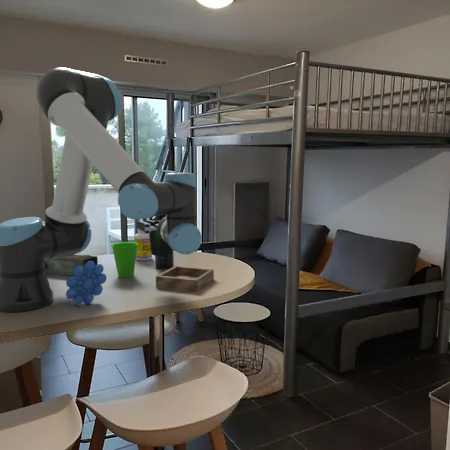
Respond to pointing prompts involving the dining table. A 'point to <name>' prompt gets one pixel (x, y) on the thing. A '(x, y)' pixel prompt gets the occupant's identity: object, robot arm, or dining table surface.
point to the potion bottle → (159, 242)
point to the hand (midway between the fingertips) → (158, 219)
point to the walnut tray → (185, 278)
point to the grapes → (85, 283)
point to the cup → (125, 258)
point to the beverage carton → (67, 264)
